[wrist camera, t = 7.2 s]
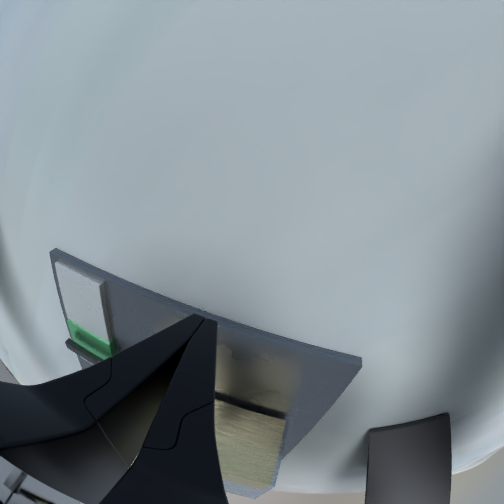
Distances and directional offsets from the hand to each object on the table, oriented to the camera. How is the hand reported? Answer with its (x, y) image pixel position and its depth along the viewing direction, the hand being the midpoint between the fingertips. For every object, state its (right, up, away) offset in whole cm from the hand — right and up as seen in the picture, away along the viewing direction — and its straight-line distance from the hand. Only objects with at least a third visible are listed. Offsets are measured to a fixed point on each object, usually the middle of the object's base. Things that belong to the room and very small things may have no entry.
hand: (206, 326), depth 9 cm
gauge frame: (-4, -7, +8) cm, 11 cm away
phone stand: (+14, -13, +7) cm, 20 cm away
